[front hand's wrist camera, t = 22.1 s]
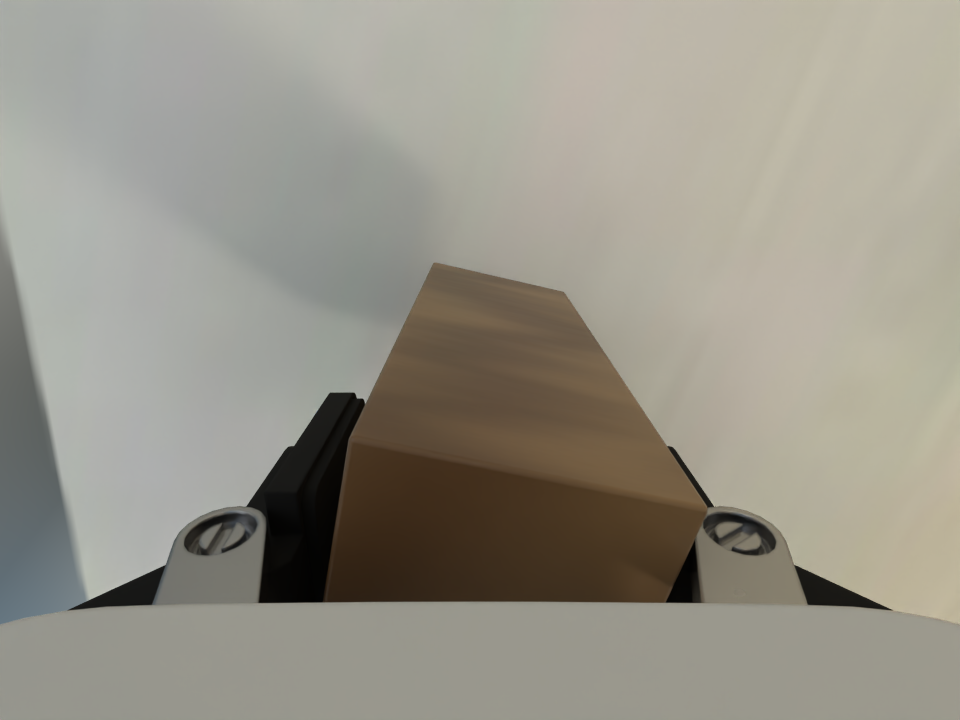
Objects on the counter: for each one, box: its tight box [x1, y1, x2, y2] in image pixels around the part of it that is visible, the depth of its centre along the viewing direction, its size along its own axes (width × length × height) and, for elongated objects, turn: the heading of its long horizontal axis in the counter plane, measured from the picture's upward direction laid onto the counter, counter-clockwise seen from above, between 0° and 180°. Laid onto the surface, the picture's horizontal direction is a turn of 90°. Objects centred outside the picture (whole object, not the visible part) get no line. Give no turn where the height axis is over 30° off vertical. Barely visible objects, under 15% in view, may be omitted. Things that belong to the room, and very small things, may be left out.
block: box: [323, 263, 708, 603], centre depth 13 cm, size 4×6×12 cm
